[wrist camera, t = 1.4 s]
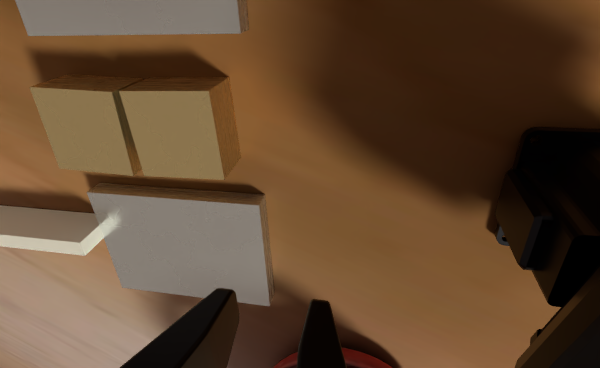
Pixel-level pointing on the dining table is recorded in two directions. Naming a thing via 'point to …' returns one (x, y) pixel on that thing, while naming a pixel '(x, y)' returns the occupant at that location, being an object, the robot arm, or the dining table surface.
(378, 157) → the dining table surface
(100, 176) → the dining table surface
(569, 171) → the robot arm
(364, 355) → the plant pot
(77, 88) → the beige wooden block
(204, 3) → the plate
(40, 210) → the tray
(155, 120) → the tan block
